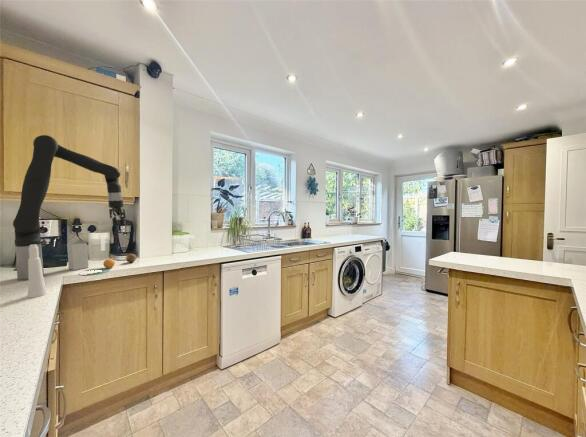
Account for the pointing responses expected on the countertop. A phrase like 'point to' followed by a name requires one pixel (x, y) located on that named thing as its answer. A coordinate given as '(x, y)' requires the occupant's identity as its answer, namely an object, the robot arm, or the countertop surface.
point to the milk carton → (77, 254)
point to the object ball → (109, 263)
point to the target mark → (98, 272)
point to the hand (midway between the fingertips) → (118, 225)
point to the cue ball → (131, 258)
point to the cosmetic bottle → (35, 274)
